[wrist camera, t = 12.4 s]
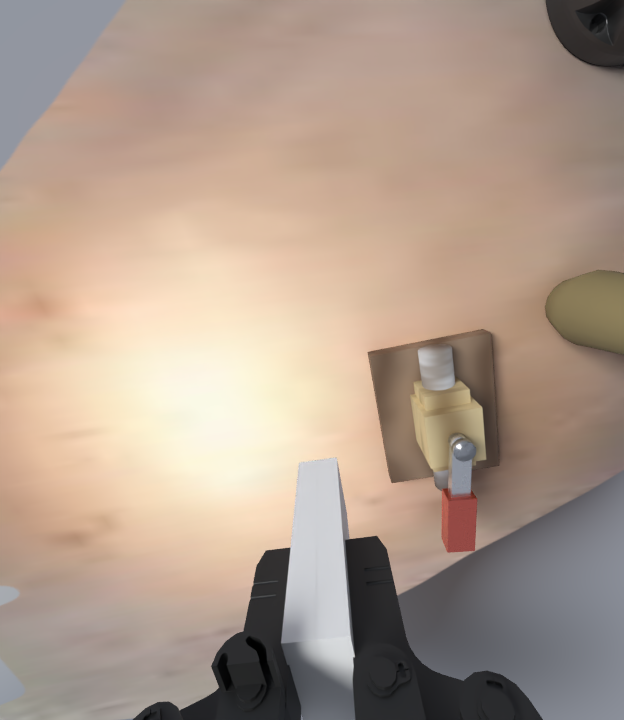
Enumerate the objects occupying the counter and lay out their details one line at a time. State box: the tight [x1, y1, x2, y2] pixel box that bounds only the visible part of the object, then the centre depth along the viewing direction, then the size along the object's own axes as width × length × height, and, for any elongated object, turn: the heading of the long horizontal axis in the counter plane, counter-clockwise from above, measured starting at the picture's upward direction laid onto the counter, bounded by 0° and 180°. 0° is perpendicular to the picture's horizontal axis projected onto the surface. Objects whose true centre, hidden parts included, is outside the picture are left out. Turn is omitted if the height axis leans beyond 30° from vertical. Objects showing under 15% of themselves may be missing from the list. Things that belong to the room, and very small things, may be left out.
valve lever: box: [442, 433, 477, 552], centre depth 37 cm, size 14×3×2 cm, turn 6°
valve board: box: [368, 329, 499, 491], centre depth 41 cm, size 14×18×8 cm
